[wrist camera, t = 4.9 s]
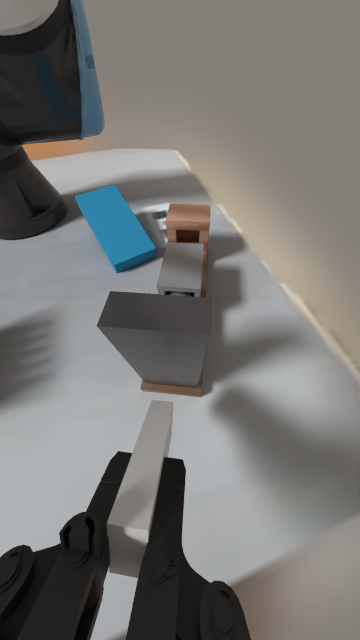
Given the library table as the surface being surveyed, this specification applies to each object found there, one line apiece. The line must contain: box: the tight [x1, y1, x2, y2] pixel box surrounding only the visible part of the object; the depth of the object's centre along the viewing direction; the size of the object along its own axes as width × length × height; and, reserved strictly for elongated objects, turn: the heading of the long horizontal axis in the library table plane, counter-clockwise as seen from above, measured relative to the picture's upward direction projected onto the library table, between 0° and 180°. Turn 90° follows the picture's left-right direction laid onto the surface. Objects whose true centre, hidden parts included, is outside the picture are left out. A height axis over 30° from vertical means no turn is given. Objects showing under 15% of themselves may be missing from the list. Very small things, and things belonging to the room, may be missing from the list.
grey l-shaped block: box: [97, 291, 211, 388], centre depth 17 cm, size 16×5×12 cm, turn 174°
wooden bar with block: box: [141, 204, 211, 397], centre depth 22 cm, size 24×6×7 cm, turn 174°
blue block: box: [74, 185, 156, 273], centre depth 32 cm, size 7×7×18 cm
